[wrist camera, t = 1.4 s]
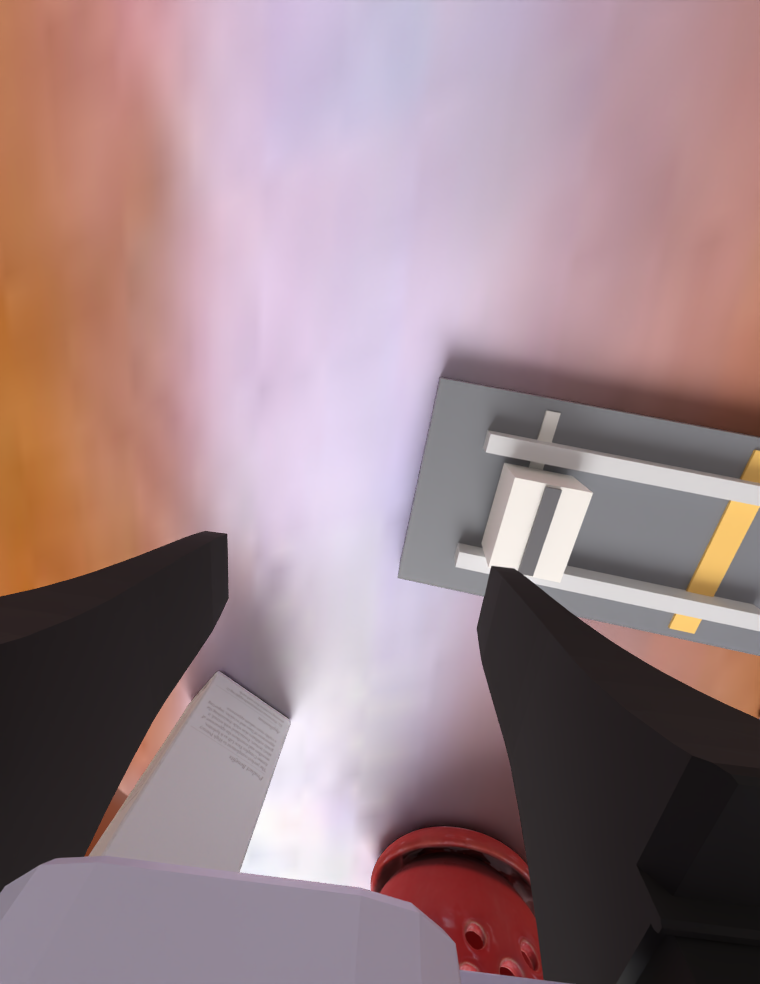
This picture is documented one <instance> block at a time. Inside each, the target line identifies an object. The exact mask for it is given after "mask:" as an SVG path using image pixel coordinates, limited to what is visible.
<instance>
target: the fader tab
mask: <svg viewBox="0 0 760 984" xmlns="http://www.w3.org/2000/svg"><path fill="white" fill-rule="evenodd" d="M592 495H593V493H592V492H591V491H590V490H589V489H588V488H586V487H585V486H584V485H583V484H581V483H580V482H579V481H578V480H577V479H575V478H574V477H573V476H570V475H565V474H559V473H554V472H549V471H544V470H539V469H534V468H529V467H524V466H519V465H514V464H509V463H504V465H503V469H502V472H501V476H500V479H499V483H498V486H497V490H496V493H495V497H494V500H493V504H492V508H491V511H490V515H489V518H488V522H487V525H486V529H485V532H484V536H483V539H482V543H481V544H482V547H483V551H484V554H485V558H486V561H487V565H488V568H491V566H498V567H507V568H514V569H516V570H517V571H519V572H520V573H522V574H523V575H526V576H530V577H535V578H540V579H544V580H549V581H554V582H559V583H560V582H561V579H562V577H563V574H564V571H565V568H566V566H567V563H568V560H569V557H570V555H571V552H572V549H573V547H574V544H575V541H576V538H577V536H578V533H579V530H580V527H581V525H582V522H583V519H584V516H585V514H586V511H587V508H588V506H589V503H590V500H591V497H592Z"/></svg>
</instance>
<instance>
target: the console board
mask: <svg viewBox="0 0 760 984" xmlns="http://www.w3.org/2000/svg"><path fill="white" fill-rule="evenodd" d="M504 463H509V464H514V465H519V466H524V467H529V468H534V469H539V470H544V471H549V472H554V473H559V474H565V475H570V476H573V477H574V478H575V479H577V480H578V481H579V482H580V483H581V484H583V485H584V486H585V487H586V488H588V489H589V490H590V491H591V492H592V493H593V495H592V497H591V500H590V503H589V506H588V508H587V511H586V514H585V516H584V519H583V522H582V525H581V527H580V530H579V533H578V536H577V538H576V541H575V544H574V547H573V549H572V552H571V555H570V557H569V560H568V563H567V566H566V568H565V571H564V574H563V577H562V579H561V582H560V583H559V582H554V581H549V580H544V579H540V578H535V577H530V576H526V575H524V576H526V577H527V578H528V579H529V580H531V581H532V582H533V583H535V584H536V585H537V586H538V587H540V588H541V589H542V590H543V591H544V592H546V593H547V594H548V595H549V596H551V597H552V598H553V599H554V600H556V601H557V602H558V603H559V604H561V605H562V606H563V607H565V608H566V609H567V610H568V611H570V612H571V613H572V614H574V615H575V616H577V617H581V618H586V619H591V620H595V621H600V622H605V623H609V624H614V625H619V626H623V627H628V628H633V629H637V630H642V631H647V632H651V633H656V634H661V635H665V636H670V637H674V638H679V639H684V640H688V641H693V642H698V643H702V644H707V645H712V646H716V647H721V648H726V649H730V650H735V651H740V652H744V653H749V654H754V655H758V656H760V437H758V436H753V435H748V434H742V433H737V432H732V431H726V430H721V429H716V428H710V427H705V426H700V425H694V424H689V423H684V422H678V421H673V420H668V419H662V418H657V417H652V416H646V415H641V414H636V413H630V412H625V411H620V410H614V409H609V408H604V407H598V406H593V405H588V404H582V403H577V402H572V401H566V400H561V399H556V398H550V397H545V396H540V395H534V394H529V393H524V392H518V391H513V390H508V389H502V388H497V387H492V386H486V385H481V384H476V383H470V382H465V381H459V380H454V379H449V378H443V377H440V379H439V384H438V388H437V393H436V398H435V402H434V407H433V411H432V416H431V421H430V425H429V430H428V435H427V439H426V444H425V449H424V453H423V458H422V463H421V467H420V472H419V477H418V481H417V486H416V491H415V495H414V500H413V504H412V509H411V514H410V518H409V523H408V528H407V532H406V537H405V542H404V546H403V551H402V556H401V560H400V565H399V572H398V578H400V579H405V580H409V581H414V582H418V583H423V584H428V585H432V586H437V587H442V588H446V589H451V590H456V591H460V592H465V593H470V594H474V595H479V596H484V595H485V591H486V587H487V582H488V578H489V573H490V569H491V568H488V565H487V561H486V558H485V554H484V551H483V547H482V544H481V543H482V539H483V536H484V532H485V529H486V525H487V522H488V518H489V515H490V511H491V508H492V504H493V500H494V497H495V493H496V490H497V486H498V483H499V479H500V476H501V472H502V469H503V465H504Z"/></svg>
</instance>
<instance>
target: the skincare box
mask: <svg viewBox="0 0 760 984" xmlns="http://www.w3.org/2000/svg"><path fill="white" fill-rule="evenodd" d="M290 724H291V721H290V720H289V719H288V718H287V717H285V716H284V715H282V714H281V713H279V712H278V711H276V710H275V709H274V708H272V707H271V706H269V705H268V704H266V703H265V702H263V701H262V700H260V699H259V698H258V697H256V696H255V695H253V694H252V693H250V692H249V691H247V690H246V689H245V688H243V687H242V686H240V685H239V684H237V683H236V682H234V681H233V680H232V679H230V678H229V677H227V676H226V675H224V674H223V673H221V672H220V671H217V672H216V673H215V674H214V675H213V677H212V678H211V679H210V680H209V681H208V682H207V683H206V684H205V686H204V687H203V688H202V689H201V690H200V691H199V693H198V694H197V695H196V696H195V697H194V698H193V700H192V701H191V702H190V703H189V705H188V706H187V708H186V709H185V711H184V713H183V714H182V716H181V717H180V719H179V720H178V722H177V723H176V725H175V726H174V728H173V729H172V731H171V732H170V734H169V735H168V737H167V739H166V740H165V742H164V743H163V745H162V746H161V748H160V749H159V751H158V752H157V754H156V755H155V757H154V758H153V760H152V761H151V763H150V764H149V766H148V767H147V769H146V770H145V772H144V773H143V775H142V776H141V778H140V779H139V781H138V782H137V784H136V785H135V787H134V788H133V790H132V791H131V793H130V794H129V796H128V797H127V799H126V800H125V802H124V803H123V805H122V806H121V808H120V810H119V811H118V813H117V814H116V816H115V817H114V819H113V820H112V822H111V823H110V825H109V826H108V828H107V829H106V831H105V832H104V834H103V835H102V837H101V838H100V840H99V842H98V843H97V844H96V846H95V847H94V849H93V850H92V852H91V853H90V855H89V856H88V857H92V856H112V857H120V858H128V859H136V860H144V861H152V862H160V863H168V864H176V865H184V866H191V867H199V868H207V869H215V870H223V871H231V872H240V869H241V866H242V863H243V860H244V857H245V855H246V852H247V849H248V846H249V843H250V840H251V837H252V834H253V831H254V828H255V826H256V823H257V820H258V817H259V814H260V811H261V808H262V805H263V802H264V800H265V797H266V794H267V791H268V788H269V785H270V782H271V779H272V776H273V773H274V770H275V767H276V764H277V762H278V759H279V756H280V753H281V750H282V747H283V744H284V741H285V739H286V736H287V733H288V730H289V727H290Z"/></svg>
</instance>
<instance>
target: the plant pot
mask: <svg viewBox="0 0 760 984" xmlns="http://www.w3.org/2000/svg"><path fill="white" fill-rule="evenodd" d="M371 891H373V892H377V893H380V894H383V895H387V896H390V897H393V898H397V899H400V900H403V901H407V902H410V903H412V904H413V905H415V906H416V907H417V908H418V909H419V910H421V911H422V912H423V913H424V914H425V915H426V916H428V917H429V918H430V919H431V920H432V921H434V922H435V923H436V924H437V925H438V926H440V927H441V928H442V929H443V930H444V931H445V932H446V933H447V934H448V935H449V937H450V938H451V939H452V940H453V941H454V942H455V943H456V950H457V956H458V962H459V969H460V970H466V971H474V972H482V973H490V974H498V975H506V976H514V977H522V978H529V979H537V980H543V972H542V964H541V956H540V948H539V940H538V932H537V924H536V918H535V911H534V904H533V897H532V890H531V884H530V877H529V870H528V865H527V864H526V863H525V862H524V861H523V860H522V859H521V858H520V857H519V855H517V854H516V853H515V852H514V851H513V850H511V849H510V848H509V847H507V846H506V845H504V844H503V843H501V842H500V841H498V840H496V839H494V838H492V837H490V836H488V835H485V834H483V833H480V832H476V831H473V830H469V829H465V828H458V827H447V826H438V827H428V828H423V829H419V830H415V831H413V832H410V833H407V834H406V835H404V836H402V837H400V838H399V839H397V840H396V841H394V842H393V843H392V844H391V845H389V846H388V847H387V848H386V849H385V851H384V852H383V853H382V854H381V855H380V857H379V859H378V860H377V862H376V864H375V866H374V869H373V872H372V876H371Z"/></svg>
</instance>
